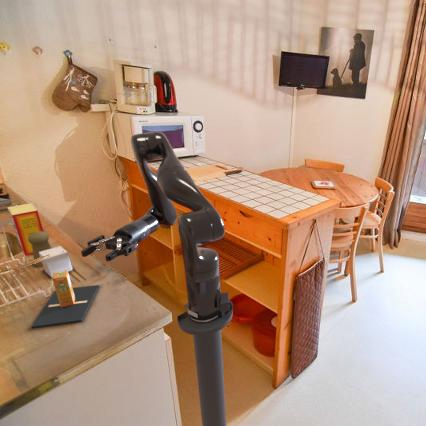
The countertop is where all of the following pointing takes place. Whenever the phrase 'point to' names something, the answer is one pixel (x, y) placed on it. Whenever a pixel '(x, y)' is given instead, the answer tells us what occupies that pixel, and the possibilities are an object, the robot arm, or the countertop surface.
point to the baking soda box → (25, 224)
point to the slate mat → (66, 308)
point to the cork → (39, 244)
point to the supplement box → (63, 288)
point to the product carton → (56, 260)
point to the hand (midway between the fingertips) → (94, 256)
